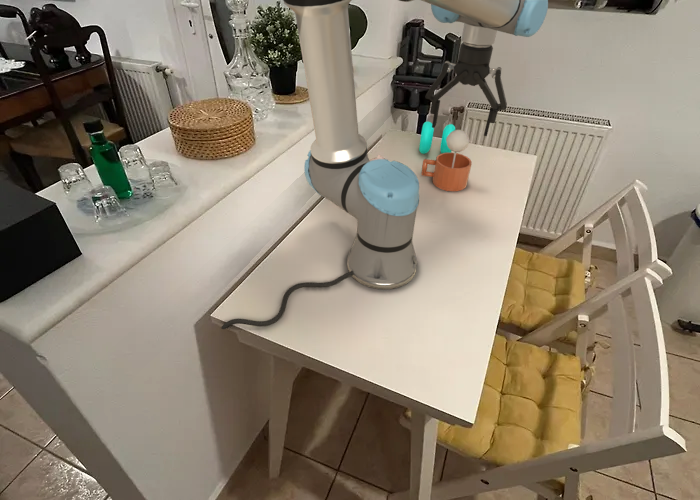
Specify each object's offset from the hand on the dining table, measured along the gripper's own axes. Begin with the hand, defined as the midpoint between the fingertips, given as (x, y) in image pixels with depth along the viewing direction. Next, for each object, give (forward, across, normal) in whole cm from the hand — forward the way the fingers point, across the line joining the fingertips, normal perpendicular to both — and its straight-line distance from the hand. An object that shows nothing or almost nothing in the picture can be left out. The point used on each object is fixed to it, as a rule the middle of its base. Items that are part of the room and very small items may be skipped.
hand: (459, 130), depth 114 cm
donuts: (+16, +7, -17) cm, 24 cm away
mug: (+16, +2, 0) cm, 16 cm away
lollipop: (+16, 0, 0) cm, 16 cm away
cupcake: (+16, +19, +10) cm, 27 cm away
